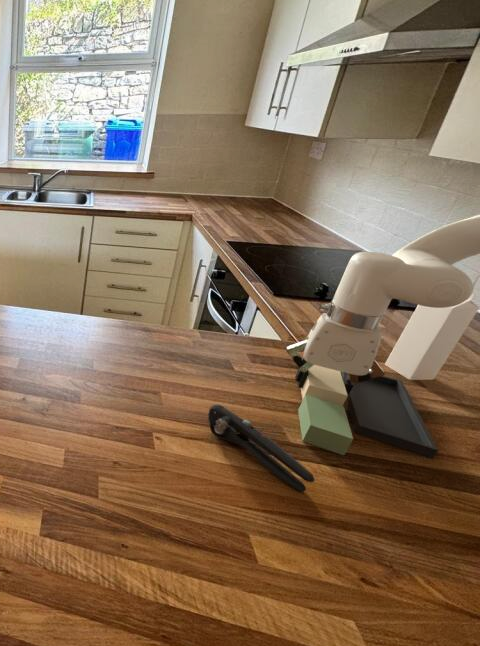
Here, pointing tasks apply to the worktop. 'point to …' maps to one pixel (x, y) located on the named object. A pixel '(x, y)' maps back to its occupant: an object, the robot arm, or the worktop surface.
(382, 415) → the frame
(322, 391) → the pad
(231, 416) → the can opener
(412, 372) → the milk
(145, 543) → the worktop surface
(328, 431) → the pad
